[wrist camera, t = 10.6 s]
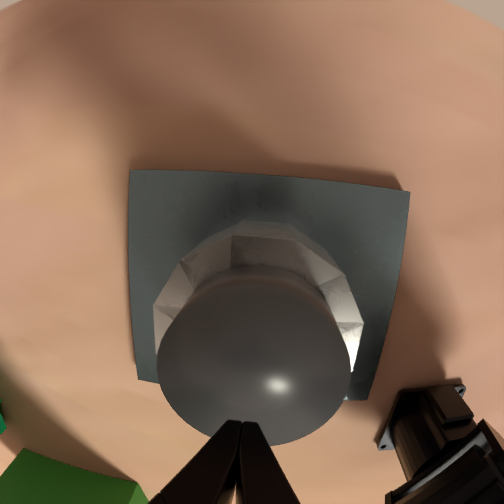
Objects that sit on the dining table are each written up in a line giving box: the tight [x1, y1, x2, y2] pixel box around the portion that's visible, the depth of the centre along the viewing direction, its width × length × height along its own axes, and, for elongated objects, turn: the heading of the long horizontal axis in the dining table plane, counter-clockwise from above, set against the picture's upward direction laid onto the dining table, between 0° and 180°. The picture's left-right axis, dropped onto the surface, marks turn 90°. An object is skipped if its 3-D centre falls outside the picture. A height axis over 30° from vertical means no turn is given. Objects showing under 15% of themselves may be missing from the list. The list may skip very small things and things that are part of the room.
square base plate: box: [128, 170, 410, 400], centre depth 16 cm, size 14×16×6 cm
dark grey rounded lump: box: [157, 265, 351, 446], centre depth 13 cm, size 7×7×6 cm
